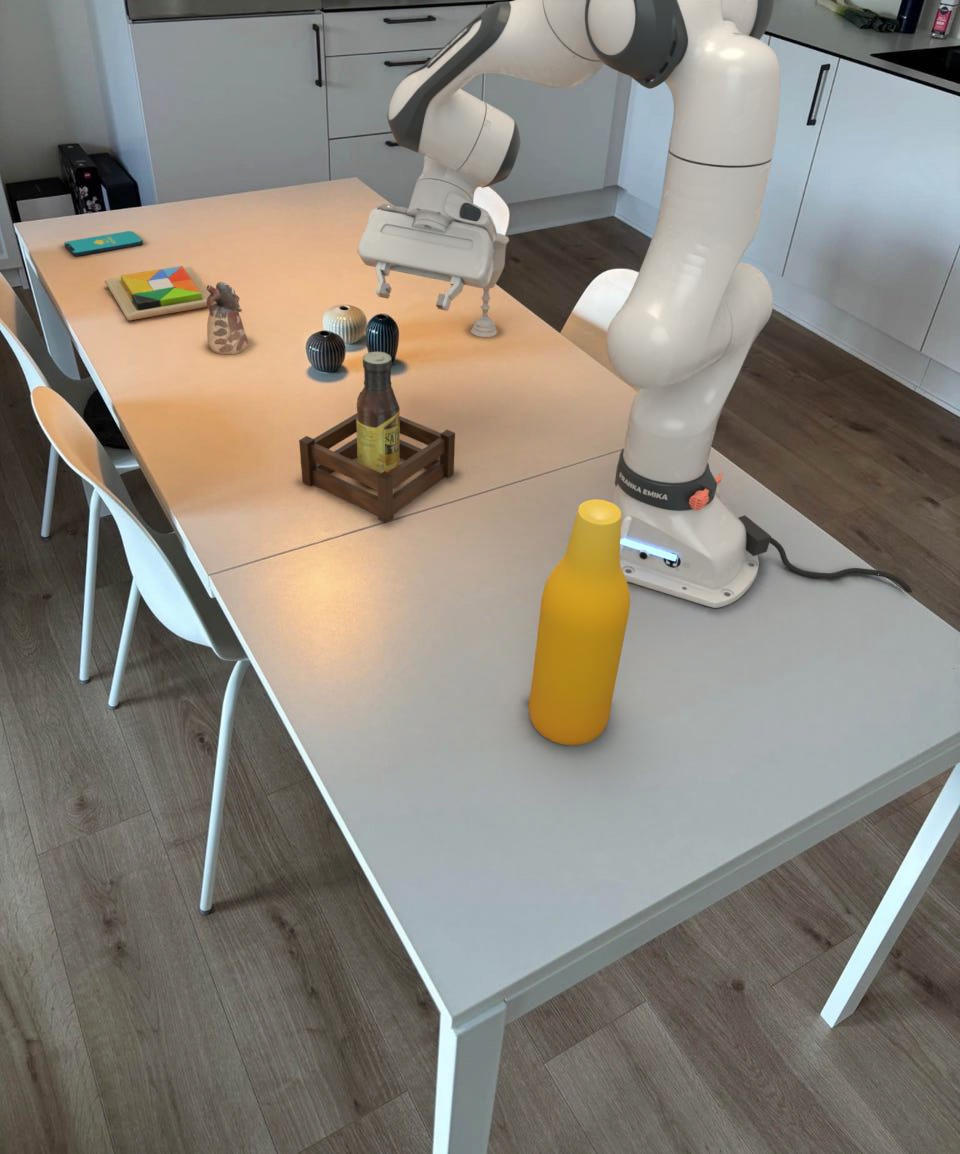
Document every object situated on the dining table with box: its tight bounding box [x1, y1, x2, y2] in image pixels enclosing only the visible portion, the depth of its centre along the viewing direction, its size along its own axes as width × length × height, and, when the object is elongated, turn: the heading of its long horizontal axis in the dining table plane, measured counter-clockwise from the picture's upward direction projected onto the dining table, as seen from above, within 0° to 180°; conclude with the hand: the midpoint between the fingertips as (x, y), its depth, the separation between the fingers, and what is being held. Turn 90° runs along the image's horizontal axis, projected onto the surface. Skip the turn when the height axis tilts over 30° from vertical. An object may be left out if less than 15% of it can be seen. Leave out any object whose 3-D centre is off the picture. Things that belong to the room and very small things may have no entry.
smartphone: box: [64, 230, 144, 257], centre depth 212 cm, size 7×1×15 cm
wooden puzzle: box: [104, 265, 216, 321], centre depth 192 cm, size 18×19×4 cm
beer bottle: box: [528, 498, 631, 746], centre depth 102 cm, size 9×9×29 cm
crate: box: [298, 412, 456, 524], centre depth 145 cm, size 16×16×7 cm
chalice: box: [470, 232, 510, 338], centre depth 183 cm, size 7×7×18 cm
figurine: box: [205, 281, 250, 355], centre depth 175 cm, size 7×7×12 cm
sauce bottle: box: [356, 351, 401, 488], centre depth 141 cm, size 7×6×20 cm
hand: (411, 302), depth 142 cm, fingers open, 8 cm apart
